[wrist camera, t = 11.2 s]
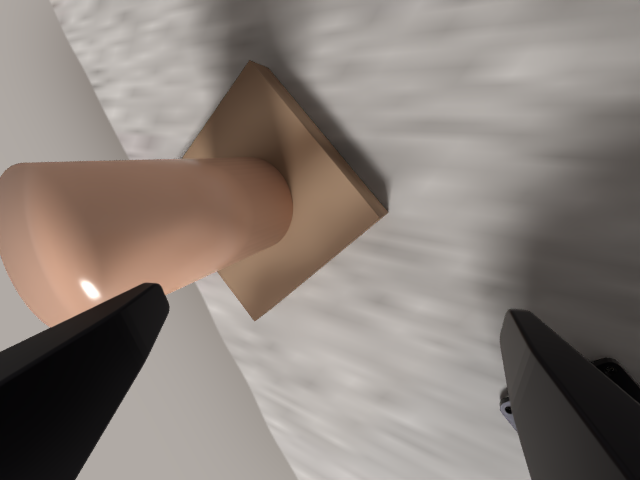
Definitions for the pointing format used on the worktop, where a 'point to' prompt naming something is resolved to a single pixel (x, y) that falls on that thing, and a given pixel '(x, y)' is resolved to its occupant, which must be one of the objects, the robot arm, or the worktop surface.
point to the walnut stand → (302, 179)
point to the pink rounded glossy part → (132, 225)
